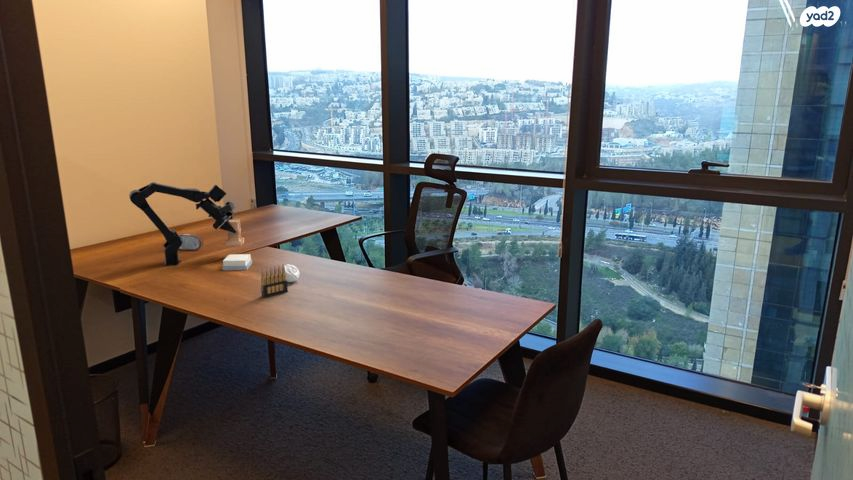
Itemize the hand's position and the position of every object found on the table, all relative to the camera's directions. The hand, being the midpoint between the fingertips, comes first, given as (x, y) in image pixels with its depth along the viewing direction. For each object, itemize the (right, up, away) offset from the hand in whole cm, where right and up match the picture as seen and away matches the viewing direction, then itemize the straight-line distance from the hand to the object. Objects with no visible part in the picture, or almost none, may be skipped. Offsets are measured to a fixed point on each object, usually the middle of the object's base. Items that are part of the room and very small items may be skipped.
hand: (237, 231), depth 282 cm
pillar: (-1, -6, +2) cm, 7 cm away
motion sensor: (+33, -23, -31) cm, 51 cm away
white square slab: (+4, -15, -11) cm, 19 cm away
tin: (-31, -9, +17) cm, 36 cm away
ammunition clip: (+30, -27, -46) cm, 61 cm away
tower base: (+4, -17, -10) cm, 20 cm away
